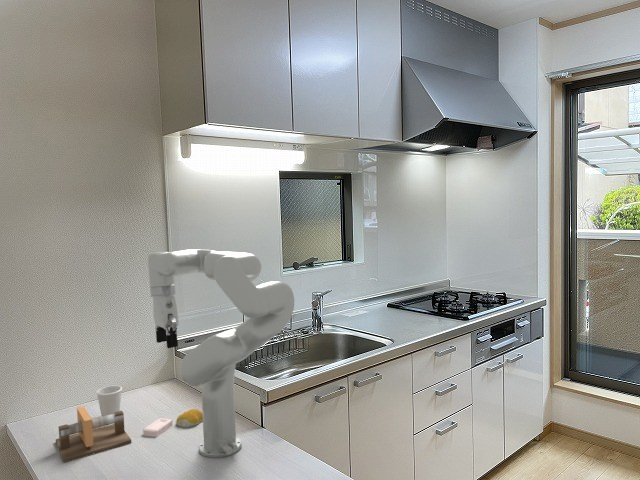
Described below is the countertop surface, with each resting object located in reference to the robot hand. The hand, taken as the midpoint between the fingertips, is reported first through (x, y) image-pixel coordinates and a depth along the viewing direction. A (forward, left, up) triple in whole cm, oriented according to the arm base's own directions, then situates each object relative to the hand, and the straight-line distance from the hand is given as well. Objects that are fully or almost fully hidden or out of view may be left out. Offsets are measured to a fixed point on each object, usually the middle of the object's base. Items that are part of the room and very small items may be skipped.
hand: (167, 344), depth 157 cm
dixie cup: (+28, +12, -30) cm, 43 cm away
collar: (+11, +23, -28) cm, 38 cm away
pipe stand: (+11, +21, -30) cm, 38 cm away
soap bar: (+7, +2, -30) cm, 31 cm away
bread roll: (+6, -8, -30) cm, 32 cm away
